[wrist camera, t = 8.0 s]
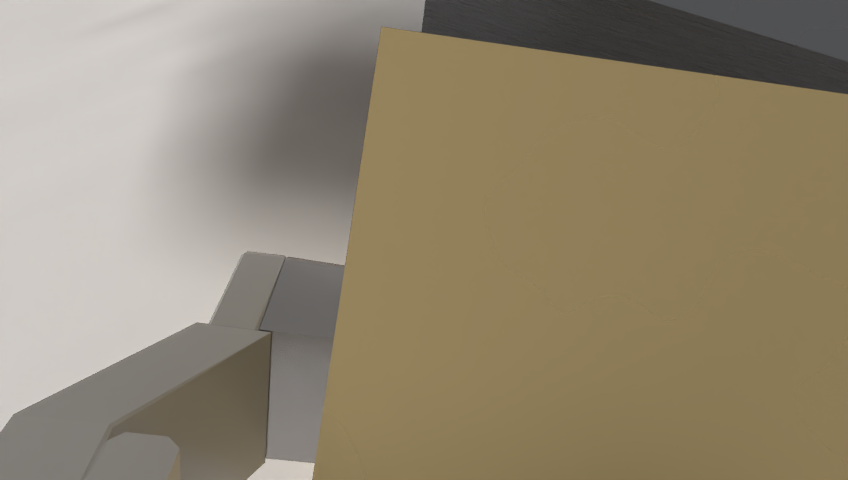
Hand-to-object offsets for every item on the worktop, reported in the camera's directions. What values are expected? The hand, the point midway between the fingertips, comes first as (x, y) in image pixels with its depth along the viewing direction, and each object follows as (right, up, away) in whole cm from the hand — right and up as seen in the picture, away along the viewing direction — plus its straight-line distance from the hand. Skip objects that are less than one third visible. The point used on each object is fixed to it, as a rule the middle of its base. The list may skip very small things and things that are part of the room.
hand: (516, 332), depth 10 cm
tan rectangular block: (0, -2, +5) cm, 5 cm away
